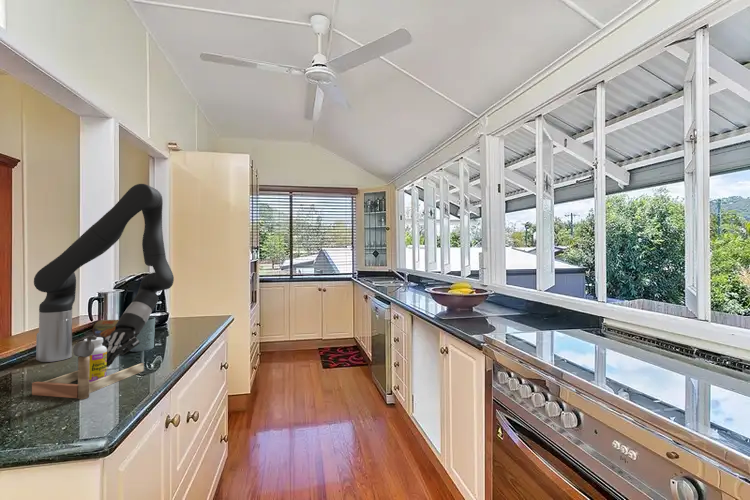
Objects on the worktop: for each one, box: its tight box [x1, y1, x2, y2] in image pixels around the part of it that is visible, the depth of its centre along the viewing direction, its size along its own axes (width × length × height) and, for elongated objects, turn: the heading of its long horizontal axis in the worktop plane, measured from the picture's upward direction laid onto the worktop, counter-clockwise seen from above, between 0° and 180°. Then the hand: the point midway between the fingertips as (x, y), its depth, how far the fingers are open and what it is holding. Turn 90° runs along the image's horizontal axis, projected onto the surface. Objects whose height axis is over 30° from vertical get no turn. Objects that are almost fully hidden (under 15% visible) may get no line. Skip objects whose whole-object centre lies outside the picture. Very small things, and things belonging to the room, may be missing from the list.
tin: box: [92, 319, 119, 337], centre depth 171 cm, size 15×3×8 cm, turn 91°
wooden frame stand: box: [31, 335, 145, 400], centre depth 114 cm, size 25×19×16 cm
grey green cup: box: [129, 316, 156, 352], centre depth 154 cm, size 10×10×12 cm
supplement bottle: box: [83, 337, 107, 383], centre depth 115 cm, size 7×7×13 cm
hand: (104, 365), depth 118 cm, fingers closed
